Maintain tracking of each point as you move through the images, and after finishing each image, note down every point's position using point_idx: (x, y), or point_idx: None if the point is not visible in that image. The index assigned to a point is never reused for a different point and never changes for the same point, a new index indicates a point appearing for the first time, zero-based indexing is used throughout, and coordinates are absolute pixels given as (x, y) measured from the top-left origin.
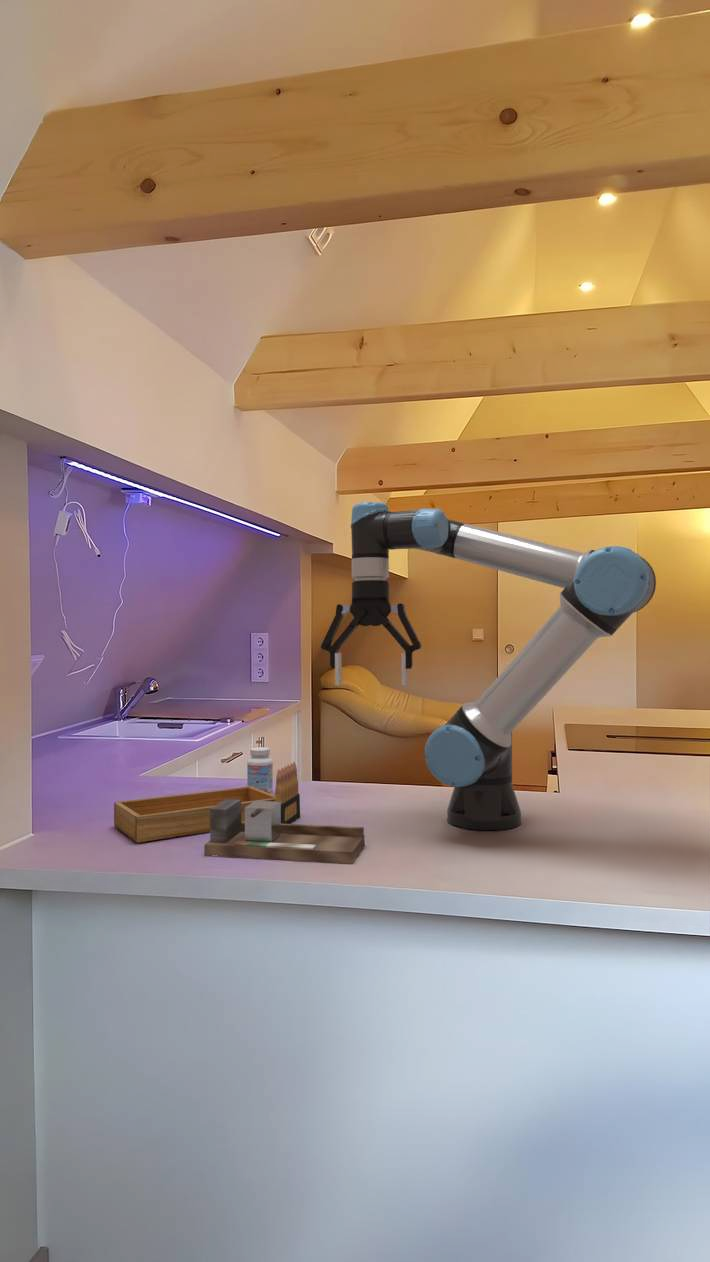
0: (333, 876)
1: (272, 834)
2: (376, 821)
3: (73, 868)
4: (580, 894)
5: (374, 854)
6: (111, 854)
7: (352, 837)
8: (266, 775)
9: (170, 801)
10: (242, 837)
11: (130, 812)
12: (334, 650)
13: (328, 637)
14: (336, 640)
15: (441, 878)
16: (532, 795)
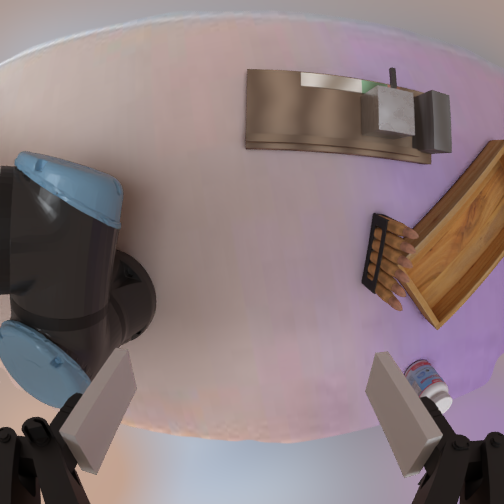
0: (260, 33)
1: (364, 98)
2: (251, 276)
3: (494, 71)
4: (38, 63)
5: (226, 114)
6: (492, 108)
7: (260, 132)
8: (420, 380)
9: (502, 246)
10: None
11: None
12: (449, 446)
13: (500, 480)
14: (461, 486)
15: (141, 53)
16: None
